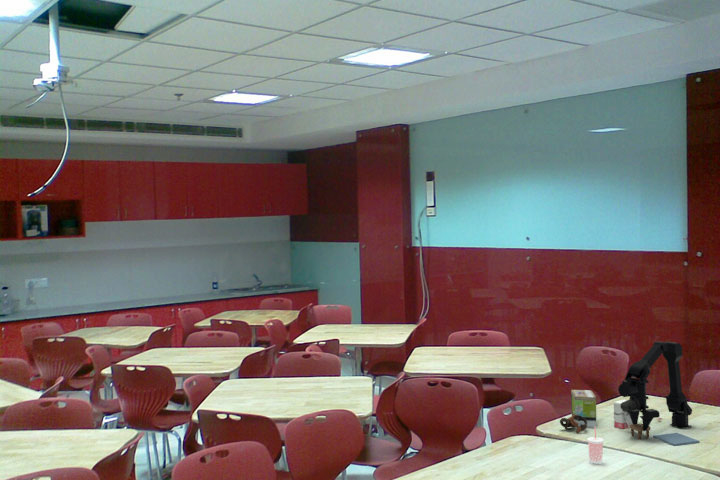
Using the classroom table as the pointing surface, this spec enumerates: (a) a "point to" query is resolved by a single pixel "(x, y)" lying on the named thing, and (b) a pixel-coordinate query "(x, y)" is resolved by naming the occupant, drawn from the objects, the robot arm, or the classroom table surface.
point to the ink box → (621, 416)
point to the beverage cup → (595, 449)
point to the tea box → (584, 406)
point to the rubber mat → (675, 439)
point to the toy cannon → (574, 423)
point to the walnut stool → (639, 430)
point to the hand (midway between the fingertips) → (640, 429)
